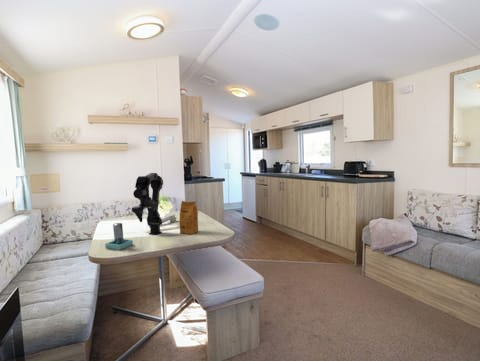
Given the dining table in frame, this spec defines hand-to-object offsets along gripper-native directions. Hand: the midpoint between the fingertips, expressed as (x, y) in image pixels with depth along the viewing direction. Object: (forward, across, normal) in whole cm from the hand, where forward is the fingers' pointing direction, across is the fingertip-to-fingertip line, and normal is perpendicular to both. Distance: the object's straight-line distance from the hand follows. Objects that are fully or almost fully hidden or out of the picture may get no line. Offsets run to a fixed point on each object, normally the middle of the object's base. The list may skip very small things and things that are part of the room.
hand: (146, 220), depth 179 cm
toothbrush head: (+14, +39, +15) cm, 44 cm away
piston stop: (+12, -15, +8) cm, 21 cm away
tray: (+13, -15, +8) cm, 22 cm away
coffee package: (+13, +23, -17) cm, 31 cm away
